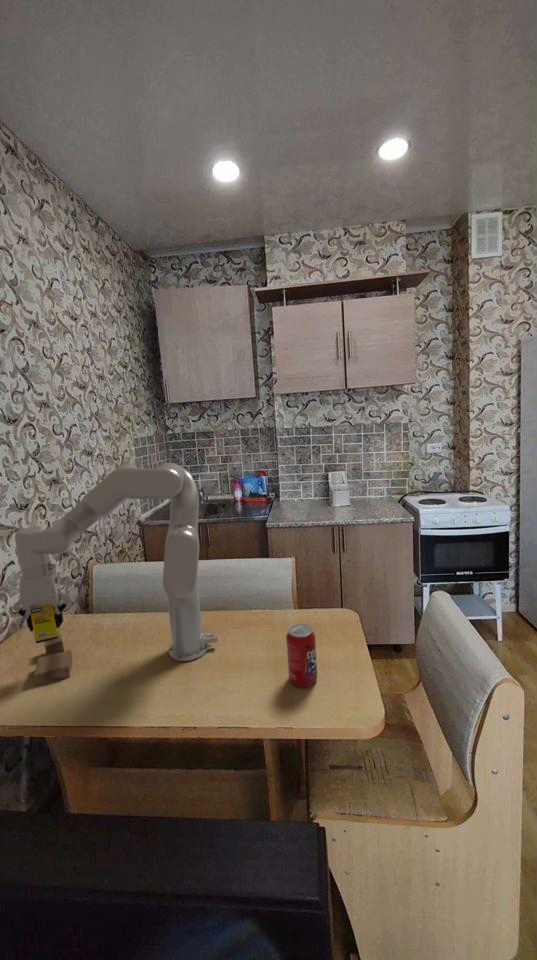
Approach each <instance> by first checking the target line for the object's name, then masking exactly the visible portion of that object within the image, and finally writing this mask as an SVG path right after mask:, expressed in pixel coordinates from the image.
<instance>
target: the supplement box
mask: <svg viewBox="0 0 537 960" xmlns="http://www.w3.org/2000/svg"><path fill="white" fill-rule="evenodd" d="M30 614H31V620H32V625H33V635H34V640H35V644H40V643H44V642H45V641H49V640H54V639H58V635H59V634H60V627H58V628H57V627H56V621H55V614H56V613H55V611H54V608H53V606H52V604H51V605H43V606H36V607H31V608H30Z"/></svg>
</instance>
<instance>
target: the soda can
mask: <svg viewBox="0 0 537 960" xmlns="http://www.w3.org/2000/svg"><path fill="white" fill-rule="evenodd" d="M285 638H286V639H285V641H286V657H287V669H288V670H287V671H288V679H289V681H290V682H291V683H292V684H293V685H295V686H298V687H308V686H310V685H313V684H314V683H315V682H316V681H317V678H318V666H317V665H318V663H317V648H316V647H317V644H316V635H315V632H314V631H313V628H312V627H311V626H310V625H309V624H304V623H298V624H297V623H296V624H293V625H291V626H290V627H289V628H288V632H286V637H285Z"/></svg>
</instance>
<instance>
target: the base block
mask: <svg viewBox="0 0 537 960" xmlns="http://www.w3.org/2000/svg"><path fill="white" fill-rule="evenodd" d="M72 654H73V653H72V650H71V649H69V650H64V652H61V653H56V654H52V655H48V656H47V655H44V656H40V657H38V660H37V662H36V666H35V669H34V672H33V678H34V684H35V687H39V686H41V685H45V684H50V683H54V682H58V681H61V680H66V679H68V678H69V679H70V677H71V673H72V666H73V662H74V659H73V655H72Z"/></svg>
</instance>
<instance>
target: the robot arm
mask: <svg viewBox="0 0 537 960" xmlns="http://www.w3.org/2000/svg"><path fill="white" fill-rule="evenodd" d="M128 499H129V500H130V499H132V500H134V499H135V500H147V499H148V500H149V499H150V500H155V499H156V500H157V499H158V500H161V499H162V500H163V499H170V507H169V521H168V522H169V524H168V529H167V534H166V538H165V543H164V545H165V546H164V557H163V558H164V559H163V571H162V572H163V573H162V587H163V590H164V592H165V594H166V598H167V606H168V607H167V608H168V617H169V624H170V632H171V641H172V643H171V644H170V645H169V647H168V656H169V657H170V658H171V659H172V660H174V661H177V662H188V661H189V662H190V661H194V660H197V659H198V658H201V657H202V656H204V655H205V654H206V653H207V652H208V650H209V646H210V645H209V644H212V643H213V644H214V643H217V642H219V640H218V635H214V633H213V632H211V633H207V634H206V633H204V629H203V626H202V617H201V615H202V614H201V605H200V597H199V587H198V586H199V585H198V571H199V570H198V569H199V557H200V539H199V516H200V515H199V512H200V511H199V509H200V494H199V488H198V485H197V483H196V481H195V479H194V477H193V476H192V474H191V473H190V472H189V471H188V470H187V469H186V468H184V467H183V466H181V465H179V464H177V463H175V462H166V463H165V462H164V463H162V464H161V465H159V466H158V468H154V467H153V468H146V467H145V468H142V467H141V468H139V467H138V466H137V465H135V464H134V463H131V462H129V463H122V464H119V466H117V467H116V468H115V469H114V470H112V471H111V472H110V473H109V474H107V476H105V477H104V478H103V479H102V480H101V481H100V482H99V483H97V484H96V485H95V486H94V487H93V488H92V489H91V490H89V491H88V492H87V493H86V494H85V495H84V496H83V497H82V499H81V500H80V501H79V503H77V504H76V505H75V506H74V507H73V508H72V509H71V510H69V511H68V512H67V513H66V514H65V515H64V516H62V517H61V518H60V519H59V520H57V522H55V523H54V524H53V525H51V526H50V528H49V527H48V529H47V528H46V529H45V530H44V528H43V527H41V526H32V527H31V526H30V527H25V528H22V529H20V530H17V531H16V532H15V535H14V540H15V541H14V542H15V546H16V552H17V557H18V562H19V563H18V564H19V567H20V577H19V599H18V600H17V602H15V603H14V604H13V606H12V607H11V609H12V610H13V611H15V612H16V613H18V615H20V616H22V617H23V619H24V620H26V625H27V628H28V629H29V631H30V633H31V632H34V630H33V625H32V620H31V614H30V608H31V607H36V606H43V605H51V604H52V606H53V608H54V611H55V613H56V614H55V621H56V627H57V628H58V627H59V628H60V627H61V625H62V624H63V622H64V616H63V611H64V610H65V608H66V607H67V606H68V605H69V603H70V602H71V600H72V597H71V596H69V595H68V594H66V593H64V592H63V591H62V587H61V584H60V581H59V579H58V578H59V577H58V575H57V572H56V570H54V569H56V568H57V563H52V562H51V560H50V555H60V554H63V553H65V552H67V551H68V550H69V549H70V548H71V546H72V545H73V543H74V542H75V541H76V540H77V539H78V538H79V537H80V536H82V535H83V533H85V532H86V531H87V530H88V529H89V528H91V526H93V525H94V524H95V523H97V522H98V521H99V520H102V519H104V518H106V517H107V516H109V515H111V514H112V512H114V511H115V509H117V508H118V507H119V506H120V505H122V504H123V503H124V502H126V501H127V500H128ZM61 600H62V601H63V602H62V604H61V603H60V601H61Z"/></svg>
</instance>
